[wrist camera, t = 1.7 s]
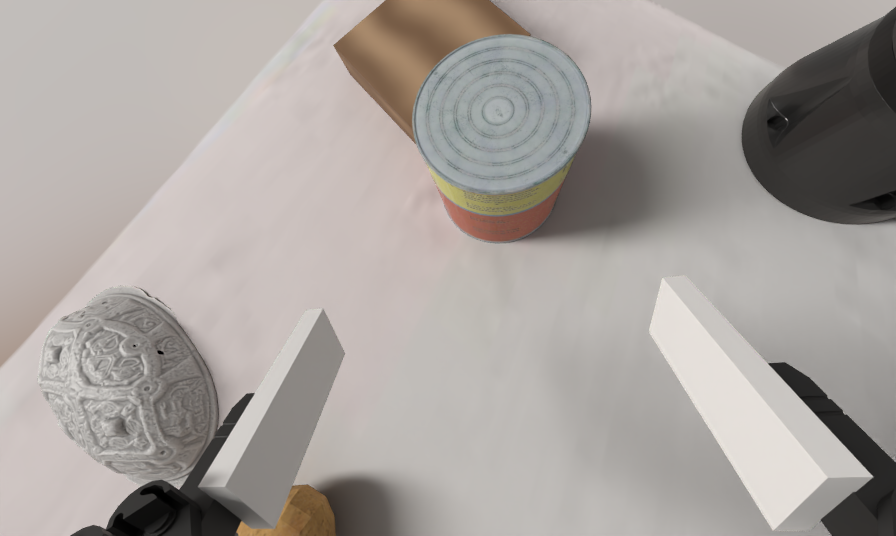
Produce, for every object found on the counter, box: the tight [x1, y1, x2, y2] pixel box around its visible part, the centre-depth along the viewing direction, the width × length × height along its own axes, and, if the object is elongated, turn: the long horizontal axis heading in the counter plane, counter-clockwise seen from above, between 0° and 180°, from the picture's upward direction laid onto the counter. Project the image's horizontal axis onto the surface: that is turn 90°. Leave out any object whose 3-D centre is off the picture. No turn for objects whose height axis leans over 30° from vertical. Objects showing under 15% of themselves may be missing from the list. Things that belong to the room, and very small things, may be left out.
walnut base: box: [333, 0, 531, 144], centre depth 34 cm, size 14×14×4 cm
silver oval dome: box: [37, 286, 219, 487], centre depth 33 cm, size 16×25×7 cm, turn 50°
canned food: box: [412, 34, 591, 243], centre depth 27 cm, size 11×11×12 cm
